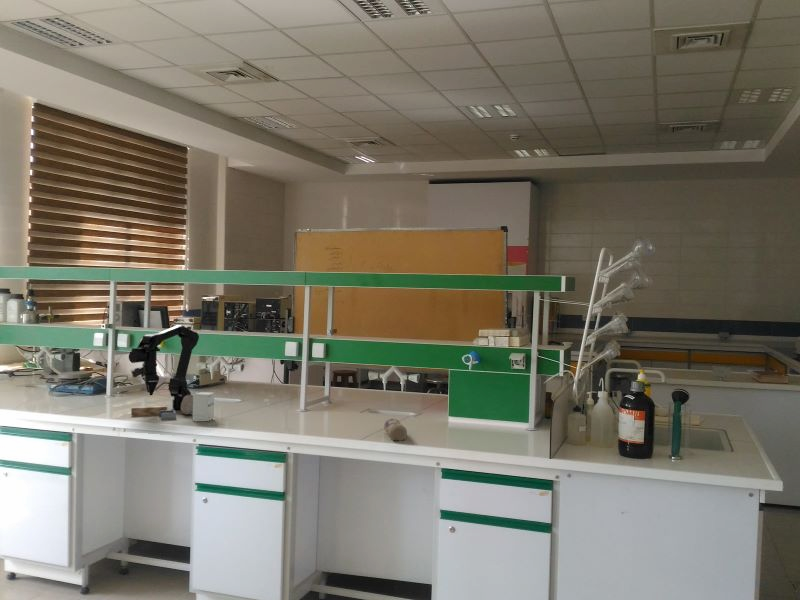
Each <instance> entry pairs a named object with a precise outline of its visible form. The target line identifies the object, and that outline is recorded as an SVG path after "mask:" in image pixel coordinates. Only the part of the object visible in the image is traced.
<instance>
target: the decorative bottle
mask: <svg viewBox="0 0 800 600" xmlns="http://www.w3.org/2000/svg"><path fill="white" fill-rule="evenodd" d="M383 429H384V431H385V432H386V433H387V434H388V436H389V438H390V439H391V440H393V441H394V440H401V441H403V440H404V439H406V437H407V434H408V432H407V431H408V430H407V428H406V427H405V426H404V425H403V424H402V423H401V422H400V421H399V420H398V419H397V418H390V419H387V420H386V421H385V422H384V426H383Z"/></svg>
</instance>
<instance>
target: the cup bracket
mask: <svg viewBox="0 0 800 600" xmlns="http://www.w3.org/2000/svg"><path fill="white" fill-rule="evenodd" d="M158 417H159V419H160V420H162V421H164V420H163V419H168V420H177V412H176V410H174V409H173V410H172V409H169V410H168V409H167V410H165V411H159V415H158Z"/></svg>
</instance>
